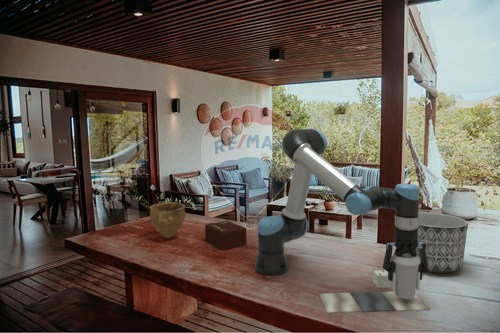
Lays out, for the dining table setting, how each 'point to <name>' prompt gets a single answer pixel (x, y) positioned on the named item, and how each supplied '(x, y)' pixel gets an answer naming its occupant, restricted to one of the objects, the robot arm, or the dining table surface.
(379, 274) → the die
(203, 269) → the dining table surface
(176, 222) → the bowl
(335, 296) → the track
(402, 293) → the coffee cup
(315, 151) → the robot arm
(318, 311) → the dining table surface
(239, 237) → the box
